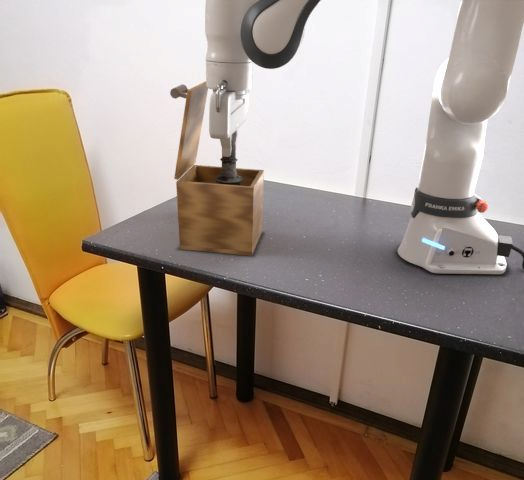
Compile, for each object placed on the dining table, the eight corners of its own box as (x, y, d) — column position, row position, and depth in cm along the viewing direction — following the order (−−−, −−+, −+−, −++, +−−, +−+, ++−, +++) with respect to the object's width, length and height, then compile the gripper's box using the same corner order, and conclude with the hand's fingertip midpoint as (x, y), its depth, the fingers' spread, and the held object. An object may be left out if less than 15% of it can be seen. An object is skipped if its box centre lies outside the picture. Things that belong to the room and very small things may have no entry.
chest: (261, 232, 124) (264, 170, 116) (251, 255, 113) (253, 187, 105) (196, 227, 126) (193, 164, 118) (179, 249, 114) (176, 181, 107)
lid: (209, 82, 108) (185, 75, 108) (191, 91, 97) (165, 83, 97) (195, 163, 118) (173, 156, 118) (177, 180, 106) (153, 172, 106)
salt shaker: (242, 191, 116) (243, 133, 109) (243, 199, 111) (244, 139, 105) (215, 190, 116) (214, 132, 109) (214, 199, 111) (214, 138, 104)
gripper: (234, 85, 92) (234, 167, 100) (254, 73, 109) (252, 144, 117) (199, 83, 93) (201, 164, 100) (224, 71, 110) (224, 142, 117)
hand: (229, 153), depth 109 cm, fingers closed on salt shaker, 3 cm apart
